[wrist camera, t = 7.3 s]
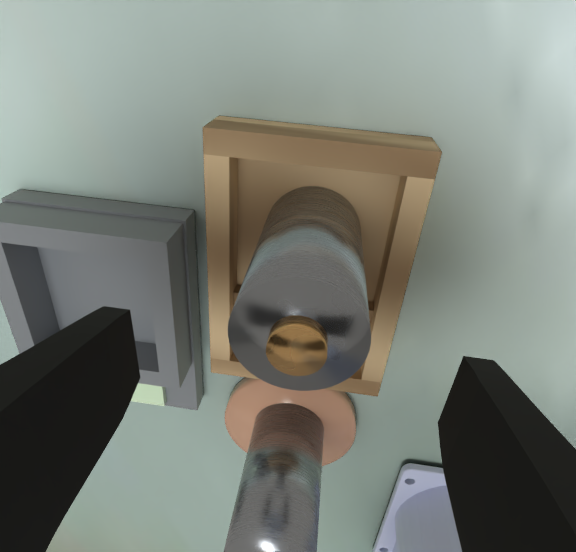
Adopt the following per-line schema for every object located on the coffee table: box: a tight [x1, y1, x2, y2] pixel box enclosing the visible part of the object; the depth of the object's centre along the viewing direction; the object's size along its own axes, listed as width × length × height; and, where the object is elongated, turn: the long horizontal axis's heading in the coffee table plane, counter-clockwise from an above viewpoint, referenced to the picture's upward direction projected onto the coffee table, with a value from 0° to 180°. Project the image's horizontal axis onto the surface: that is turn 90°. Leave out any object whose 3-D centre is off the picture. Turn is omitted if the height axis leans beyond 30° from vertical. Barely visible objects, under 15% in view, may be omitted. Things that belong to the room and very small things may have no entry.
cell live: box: [228, 186, 371, 391], centre depth 12 cm, size 3×3×6 cm
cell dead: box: [224, 403, 324, 552], centre depth 18 cm, size 3×3×6 cm
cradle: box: [0, 189, 203, 410], centre depth 18 cm, size 10×7×3 cm
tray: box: [203, 116, 442, 396], centre depth 16 cm, size 10×7×2 cm
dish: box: [225, 377, 356, 466], centre depth 21 cm, size 6×6×1 cm
